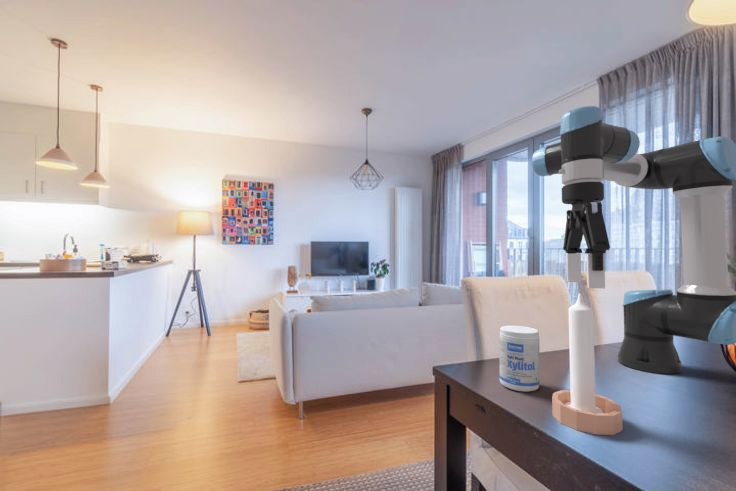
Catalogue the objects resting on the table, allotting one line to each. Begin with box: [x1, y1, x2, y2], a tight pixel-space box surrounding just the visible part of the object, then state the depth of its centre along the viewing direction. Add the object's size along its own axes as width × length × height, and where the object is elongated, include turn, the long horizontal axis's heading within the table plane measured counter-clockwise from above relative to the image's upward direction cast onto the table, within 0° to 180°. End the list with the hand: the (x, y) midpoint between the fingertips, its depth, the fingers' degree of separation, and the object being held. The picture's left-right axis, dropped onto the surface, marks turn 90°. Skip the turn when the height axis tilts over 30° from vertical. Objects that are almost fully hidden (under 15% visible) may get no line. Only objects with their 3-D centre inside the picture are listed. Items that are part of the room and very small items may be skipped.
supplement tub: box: [498, 325, 540, 393], centre depth 89 cm, size 10×10×15 cm
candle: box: [565, 292, 603, 413], centre depth 73 cm, size 7×7×25 cm
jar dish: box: [551, 389, 624, 436], centre depth 71 cm, size 12×12×4 cm
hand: (584, 285), depth 71 cm, fingers open, 13 cm apart
